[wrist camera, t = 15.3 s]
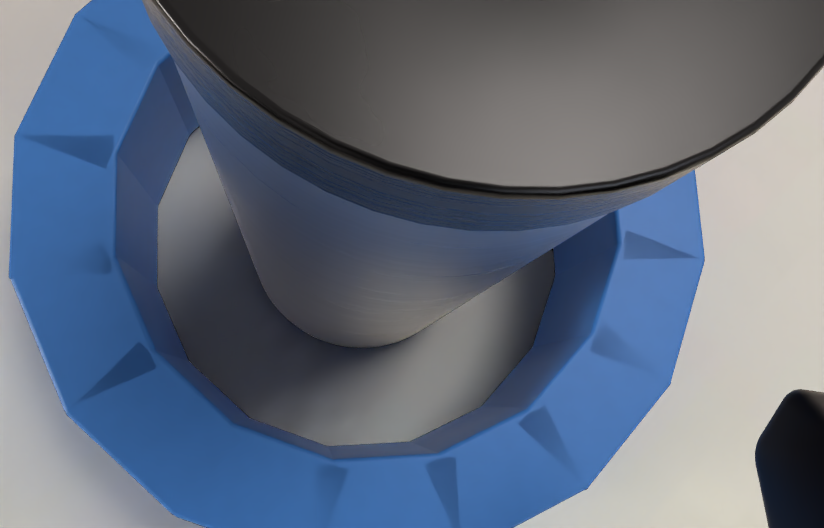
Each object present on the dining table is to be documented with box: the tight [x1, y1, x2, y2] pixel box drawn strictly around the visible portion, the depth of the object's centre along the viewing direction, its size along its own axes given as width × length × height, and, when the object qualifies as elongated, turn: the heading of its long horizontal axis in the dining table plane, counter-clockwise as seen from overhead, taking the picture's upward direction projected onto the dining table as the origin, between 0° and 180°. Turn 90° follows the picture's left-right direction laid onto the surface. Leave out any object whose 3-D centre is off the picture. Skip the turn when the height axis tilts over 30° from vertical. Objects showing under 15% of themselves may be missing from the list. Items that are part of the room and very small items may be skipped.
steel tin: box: [142, 0, 824, 348], centre depth 11 cm, size 5×5×12 cm
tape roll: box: [9, 0, 705, 528], centre depth 15 cm, size 12×12×4 cm
